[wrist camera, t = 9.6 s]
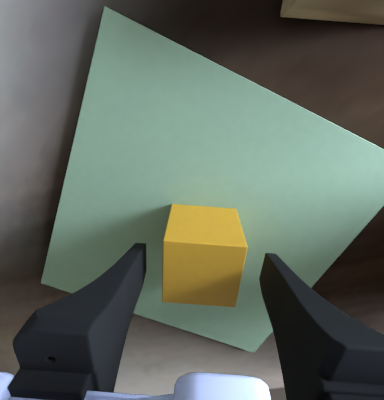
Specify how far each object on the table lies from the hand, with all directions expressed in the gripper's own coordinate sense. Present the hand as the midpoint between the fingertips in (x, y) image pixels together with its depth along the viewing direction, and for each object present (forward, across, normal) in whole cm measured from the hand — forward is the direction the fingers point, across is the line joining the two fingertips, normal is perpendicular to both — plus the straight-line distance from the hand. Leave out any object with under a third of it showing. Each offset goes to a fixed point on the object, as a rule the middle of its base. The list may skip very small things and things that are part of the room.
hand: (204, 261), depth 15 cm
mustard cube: (+3, 0, 0) cm, 3 cm away
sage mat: (+3, 0, 0) cm, 4 cm away
